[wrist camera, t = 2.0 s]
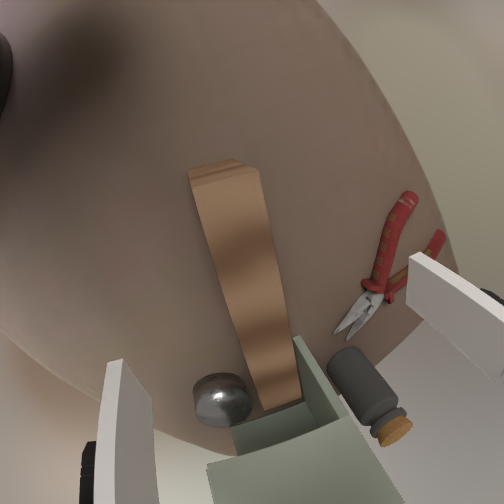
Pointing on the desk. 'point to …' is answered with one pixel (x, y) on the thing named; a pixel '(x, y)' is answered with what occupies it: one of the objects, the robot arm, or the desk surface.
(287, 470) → the green bedside cabinet
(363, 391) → the bottle
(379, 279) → the pliers
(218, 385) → the silver metal dome
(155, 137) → the desk surface
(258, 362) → the brown wooden block
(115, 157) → the desk surface
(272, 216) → the desk surface
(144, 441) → the robot arm
